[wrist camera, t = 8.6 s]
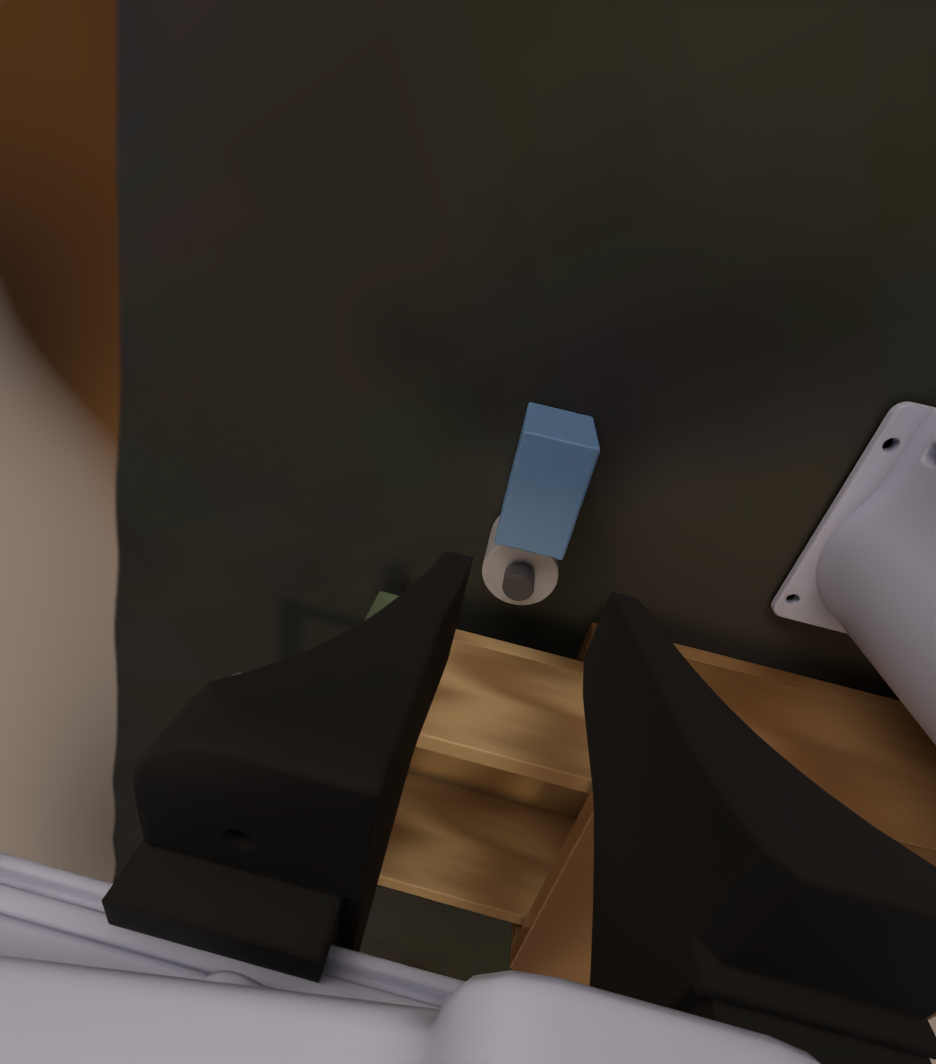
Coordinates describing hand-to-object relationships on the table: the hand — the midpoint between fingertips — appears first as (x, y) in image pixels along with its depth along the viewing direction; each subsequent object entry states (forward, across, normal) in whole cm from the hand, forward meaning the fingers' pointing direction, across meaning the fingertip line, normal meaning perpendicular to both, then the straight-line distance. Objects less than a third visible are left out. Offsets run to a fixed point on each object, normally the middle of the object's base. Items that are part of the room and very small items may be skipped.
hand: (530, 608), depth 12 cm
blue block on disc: (+10, 0, +2) cm, 11 cm away
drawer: (+9, +1, +14) cm, 17 cm away
